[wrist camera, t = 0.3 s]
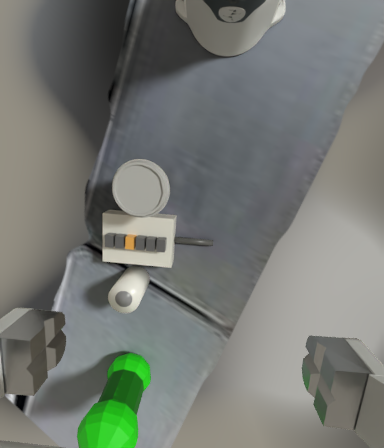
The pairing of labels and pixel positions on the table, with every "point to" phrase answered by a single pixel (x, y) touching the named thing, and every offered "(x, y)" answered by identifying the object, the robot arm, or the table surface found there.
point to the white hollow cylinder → (129, 289)
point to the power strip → (139, 228)
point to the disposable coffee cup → (140, 188)
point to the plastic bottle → (116, 406)
